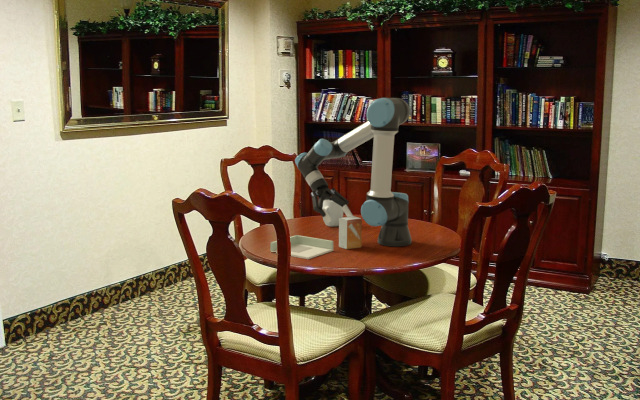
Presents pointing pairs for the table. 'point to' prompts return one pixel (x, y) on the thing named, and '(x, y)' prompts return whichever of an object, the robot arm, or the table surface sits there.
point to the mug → (333, 212)
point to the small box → (350, 232)
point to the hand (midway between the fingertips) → (340, 219)
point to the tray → (306, 246)
